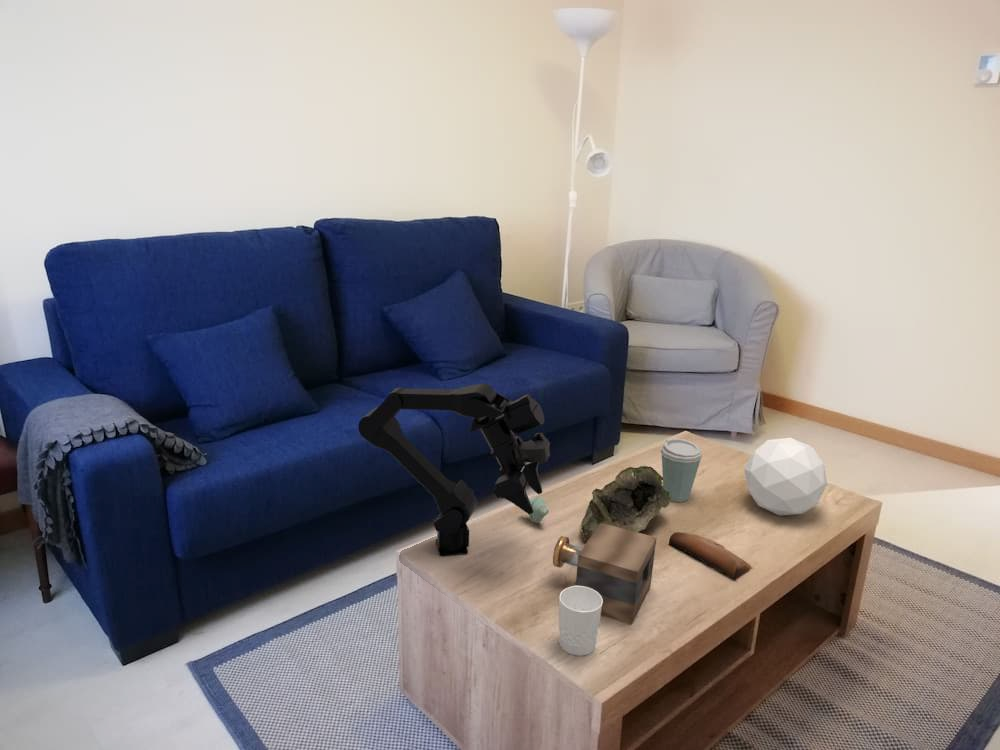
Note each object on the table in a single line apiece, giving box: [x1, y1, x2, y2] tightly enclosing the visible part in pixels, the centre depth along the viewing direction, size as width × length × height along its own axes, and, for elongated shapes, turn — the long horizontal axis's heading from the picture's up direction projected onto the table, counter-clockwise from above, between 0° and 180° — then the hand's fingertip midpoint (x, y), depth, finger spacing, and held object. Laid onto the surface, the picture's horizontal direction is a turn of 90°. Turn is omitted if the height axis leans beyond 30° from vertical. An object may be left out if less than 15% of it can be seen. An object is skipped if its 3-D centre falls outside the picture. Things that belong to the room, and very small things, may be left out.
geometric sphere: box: [743, 437, 828, 517], centre depth 186 cm, size 19×20×20 cm
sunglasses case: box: [668, 531, 754, 581], centre depth 166 cm, size 18×7×7 cm
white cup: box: [558, 585, 603, 657], centre depth 135 cm, size 8×8×10 cm
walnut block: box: [575, 523, 657, 626], centre depth 149 cm, size 12×14×12 cm
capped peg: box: [552, 535, 583, 569], centre depth 151 cm, size 12×6×6 cm, turn 65°
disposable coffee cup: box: [659, 437, 703, 503], centre depth 191 cm, size 11×11×15 cm
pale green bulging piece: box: [528, 495, 549, 524], centre depth 177 cm, size 8×4×7 cm, turn 43°
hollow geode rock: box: [580, 465, 671, 543], centre depth 177 cm, size 28×13×15 cm
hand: (535, 503), depth 157 cm, fingers open, 9 cm apart
